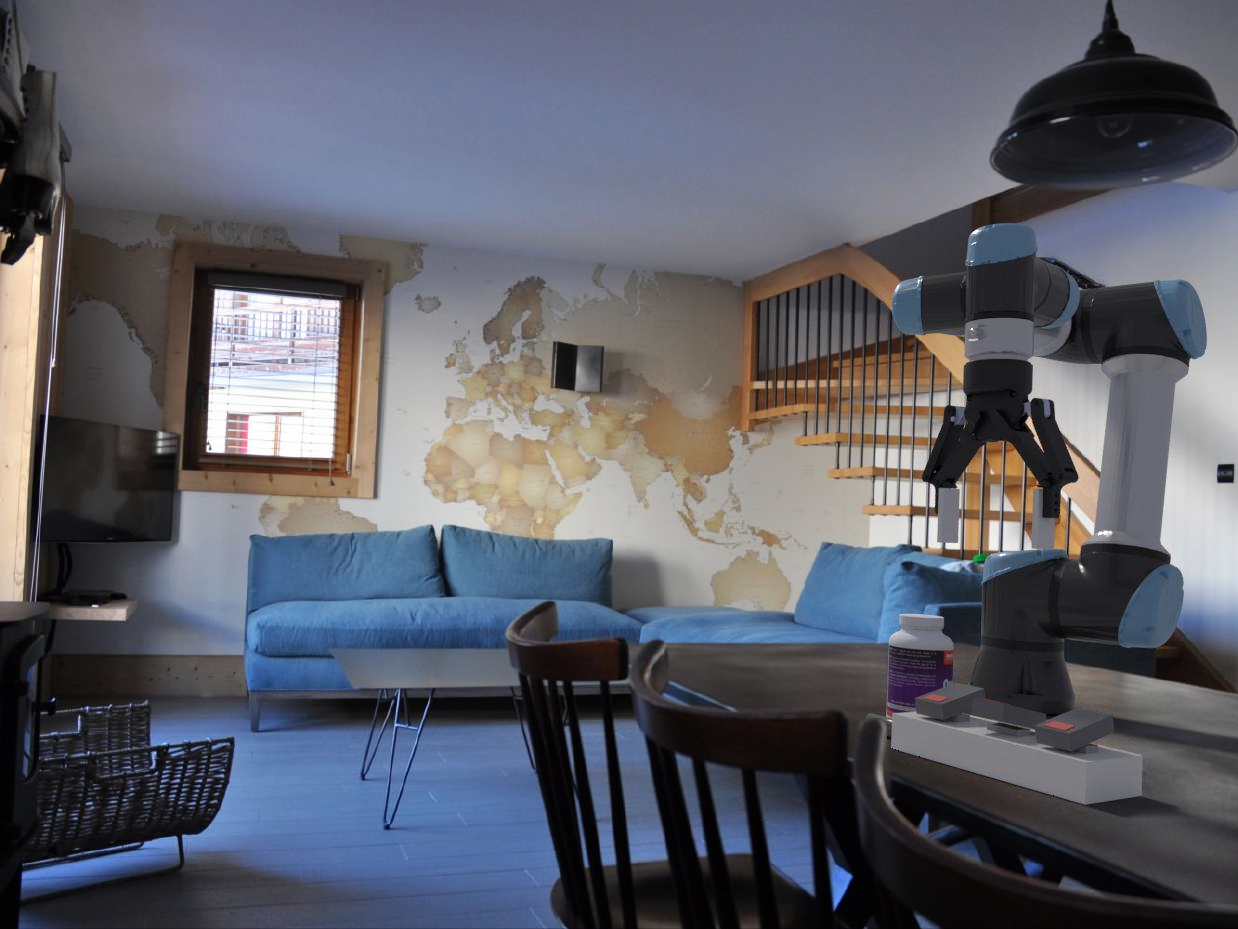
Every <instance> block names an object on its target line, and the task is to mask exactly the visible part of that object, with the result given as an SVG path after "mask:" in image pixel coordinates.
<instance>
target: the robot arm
mask: <svg viewBox="0 0 1238 929" xmlns="http://www.w3.org/2000/svg"><path fill="white" fill-rule="evenodd" d="M967 241H968V242H967V252H966V259H965V262H964V263H965V269H966V270H965V271H960V272H953V273H945V274H934V275H929V276H924V275H920V276H918V277H914V278H910V279H905V280H902V281H901V282H899V283H898V284H897V286H896V287H895V289H894V291H893V293H892V298H891V299H892V300H891V314H892V318H893V322H894V323H895V326H896V327H897V329H898V330H899V331H900V332H901V333H902V334H903V335H907V336H916V335H920V336H926V335H931V334H942V335H947V336H955V337H960V338H961V337H963V338H964V358H966V360H969V361H967V362H966V363H965V364H964V365H963V378H962V392H963V393H964V394H965V396H966V398H967V400H966V405H965V406H958V405H945V407H944V409H943V419H942V425H941V427H940V430H939V432H938V434H937V437H936V440H935V443H934V445H933V447H932V449H931V451H930V455H929V457H928V460H927V462H926V464H925V468H924V469H923V472H922V475H921V480H922V481H923V482H924V483H928V484H930V485H932V486H933V487H934V512H935V514H936V515H937V535H936V536H937V537H936V539H937V540H936V541H937V543H940V544H941V543H944V544H945V543H946V544H959V525H960V522H959V521H960V495H961V494H960V493H961V492H960V491H961V489H960V488H958V487H959V486H957V482H958V480H960V478H961V476H962V475H963V473H964V472H965V470H966V469H967V468H968V466H969V464H970V463H971V461H972V460H973V459H974V457H975V456H976V454H977V452H978V451H979V449H980V448H981V447H984V446H985V445H986V444H987V443H998V442H1005V443H1007V442H1009V443H1010V444H1011V445H1012V446H1013V448H1014V449H1015V451H1016V453H1018V454H1019V456H1020V458H1021V459H1022V460H1023V462H1024V463H1025V465H1026V467H1027V468H1028V470H1029V471H1030V472H1031V474H1032V476H1033V477H1034V478H1035V480H1036V481H1037V484H1036V487H1037V488H1035V487H1034V488H1032V510H1031V511H1032V514H1031V516H1032V517H1031V523H1032V524H1031V549H1025V550H1011V551H1009V550H1008V551H1002V552H994V553H992V554H990V555H988V556H987V557H986V558H985V561H984V564H983V571H982V572H983V573H982V580H981V582H980V583H981V584H980V585H981V617H980V618H981V623H980V624H981V625H980V627H981V628H980V629H981V630H980V632H981V634H980V649H979V654H978V656H977V659H976V661H975V664H974V666H973V669H972V673H971V676H970V680H969V681H968V683H967V685H970V686H975V687H979V688H984V691H985V699H988V700H993V701H997V702H1002V703H1006V704H1010V705H1012V706H1016V707H1020V708H1024V709H1028V710H1032V711H1036V712H1040V713H1044V714H1046V715H1061V714H1063V713H1066V712H1068V711H1071V710H1073V709H1075V708H1076V701H1077V700H1076V698H1077V697H1076V693H1075V691H1074V688H1073V684H1072V680H1071V676H1070V674H1069V670H1068V668H1067V663H1066V660H1065V656H1064V655H1065V640H1070V641H1078V642H1079V641H1080V642H1087V643H1097V644H1104V645H1112V646H1121V647H1123V648H1126V649H1131V648H1142V649H1143V648H1145V649H1155V648H1159V647H1161V646H1163V645H1164V644H1165V643H1167V641H1168V640H1169V639H1170V638H1171V636H1173V633H1174V632H1175V629H1176V627H1177V625H1178V622H1179V620H1180V617H1181V613H1182V611H1183V604H1184V603H1183V602H1184V598H1185V595H1184V594H1185V589H1183V588H1184V584H1185V583H1184V576H1183V574H1182V571H1181V570H1180V568H1179V567H1177V566H1175V565H1174V564H1171V561H1172V560H1171V559H1172V555H1171V553H1170V552H1169V551H1168V549H1166V548H1165V546H1164V545H1163V544H1162V542H1161V541H1162V540H1161V538H1162V535H1161V534H1162V527H1163V516H1164V504H1165V494H1166V485H1167V473H1168V467H1169V466H1168V465H1169V464H1168V463H1169V454H1170V445H1171V434H1172V425H1173V424H1172V423H1173V422H1172V421H1173V414H1174V404H1175V403H1174V401H1175V391H1176V384H1177V383H1178V382H1180V381H1181V380H1182V379H1184V378H1185V377H1186V376H1187V375H1188V374H1189V369H1190V361H1191V359H1192V360H1197V359H1198V358H1201V357H1203V356H1204V355H1205V353H1206V350H1207V345H1208V344H1207V343H1208V334H1207V333H1208V332H1207V324H1206V316H1205V313H1204V308H1203V305H1202V303H1201V302H1202V301H1201V299H1200V295H1199V294H1198V292H1197V290H1196V289H1195V287H1194V286H1193V285H1192V283H1190V282H1189V281H1187V280H1184V279H1169V280H1160V279H1155V280H1154V281H1147V282H1146V281H1145V282H1138V283H1130V284H1121V285H1120V284H1119V285H1113V286H1106V287H1105V286H1104V287H1095V288H1094V287H1093V288H1092V287H1091V288H1086V289H1085V288H1084V289H1080V288H1079V285H1078V283H1077V281H1076V280H1075V278H1074V277H1073V276H1072V275H1070V274H1069V273H1067V271H1066V270H1065V269H1064V268H1062V267H1060V266H1058V265H1056V264H1052V263H1050V262H1048V261H1046V260H1044V259H1041V258H1040V257H1038V256H1037V252H1038V249H1039V247H1038V246H1037V235H1036V231H1035V229H1034V228H1032V227H1030V226H1028V225H1026V224H1023V223H1012V222H1011V223H1010V222H1009V223H1008V222H1006V223H1005V222H1004V223H993V224H988V225H983V226H980V227H978V228H977V229H975V230H974V231H972V232H971V234H969V236H968V240H967ZM1033 357H1036V358H1037V357H1038V358H1041V359H1047V360H1050V361H1051V360H1052V361H1057V362H1062V363H1069V364H1078V365H1100V370H1101V372H1102V373H1103V374H1104V375H1105V376H1106V377H1107V378H1108V379H1109V380H1110V385H1109V391H1108V392H1109V394H1108V401H1107V411H1106V420H1105V429H1104V440H1103V449H1102V455H1101V456H1102V457H1101V464H1100V474H1099V475H1100V476H1099V485H1098V492H1097V493H1098V494H1097V501H1096V509H1095V510H1096V511H1095V512H1096V513H1095V519H1094V520H1095V521H1094V529H1093V530H1094V531H1093V535H1092V536H1091V537H1090V538H1088V539H1087V540H1085V541H1084V542H1082V543H1081V545H1080V551H1079V558H1078V559H1073V558H1069V555H1068V552H1067V550H1065V549H1064V548H1055V531H1056V530H1055V528H1056V527H1055V526H1056V519H1059V517H1060V516H1061V504H1062V503H1061V496H1062V494H1061V492H1062V489H1063V487H1065V486H1067V485H1069V484H1074V483H1075V484H1076V483H1077V482H1078V481H1079V478H1080V477H1079V474H1078V472H1077V468H1076V466H1075V463H1074V461H1073V459H1072V457H1071V456H1072V455H1071V454H1070V451H1069V449H1068V447H1067V444H1066V442H1065V439H1064V436H1063V434H1062V432H1061V429H1060V428H1059V425H1058V422H1057V420H1056V412H1055V402H1054V400H1052V399H1046V398H1040V397H1034V398H1032V399H1031V400H1029V395H1030V394H1031V393H1032V392H1033V380H1034V379H1033V375H1034V365H1033V364H1032V363H1031V362H1030V361H1029V360H1030V359H1032V358H1033ZM1029 418H1030V419H1031V422H1032V426H1033V429H1034V430H1035V434H1036V435H1035V434H1034V432H1033V431H1032V429H1031V428H1030V427H1029V425H1028V424H1027V420H1028V419H1029ZM965 424H966V425H965ZM1035 436H1036V437H1037V438H1038V441H1039V443H1038V442H1037V441H1036V439H1035ZM1039 444H1040V445H1039Z"/></svg>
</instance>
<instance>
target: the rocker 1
mask: <svg viewBox="0 0 1238 929" xmlns="http://www.w3.org/2000/svg"><path fill="white" fill-rule="evenodd" d="M974 697H975V698H980V699H982V698H983V699H985V691H984V688H979V687H975V686H970V685H968V684H966V683H965V684H963V683H960V682H959V683H958V682H955V683H953V684H952V685H949V686H946V687H944V688H941V689H938V690H935V691H933V692H930V693H927V694H925V695H922V696H919V697H916V698H915V704H916V713H917V714H921V715H925V716H929V717H933V718H937V719H941V720H946V719H948V718H951V717H953V716H956V715H958V714H961V713H964V714H965V713H966V712H969V711H972V705H973V699H974Z"/></svg>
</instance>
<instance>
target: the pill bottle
mask: <svg viewBox="0 0 1238 929" xmlns="http://www.w3.org/2000/svg"><path fill="white" fill-rule="evenodd" d="M898 619H899V620H898V623H899V626H900V630H899V631H895V632H894V633H893V634H891V635H890V637H889V639H888V659H887V660H888V663H887V664H888V665H887V666H888V667H887V668H888V669H887V691H886V692H887V693H886V694H887V695H886V714H885V715H886V716H885V717H887V718H891V719H892V713H904V712H916V704H915V698H916V697H919V696H922V695H925V694H927V693H930V692H933V691H935V690H938V689H941V688H944V687H946V686H949V685H952V684H954V681H953V680H954V678H953V677H954V674H953V673H954V651H955V650H954V649H955V648H954V642H953V641H952V639H951V637H949V636H948V635H946V634H944V633H943V629H944V628H945V627H944V626H945V616H944V617H943V616H941V615H934V614H921V613H900V614H899V618H898Z"/></svg>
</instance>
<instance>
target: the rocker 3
mask: <svg viewBox="0 0 1238 929" xmlns="http://www.w3.org/2000/svg"><path fill="white" fill-rule="evenodd" d="M1034 730H1035V734H1036V743H1039V744H1043V745H1047V746H1051V747H1055V748H1060V749H1064V750H1068V751H1073V750H1076V749H1078V748H1080V747H1082V746H1085V745H1087V744H1089V743H1094V742H1096V741H1098V740H1100V739H1102V738H1104V737H1107V736H1109V735H1111V734H1114V733H1115V723H1114V715H1113V713H1112V714H1111V713H1107V712H1103V711H1102V712H1101V711H1097V710H1092V709H1087V708H1082V707H1075V709H1073V710H1071V711H1068V712H1066V713H1063V714H1058V715H1056V716H1054V717H1052V718H1050V719H1046V720H1045V721H1044V722H1042V723H1039V724H1037V725H1035V729H1034Z"/></svg>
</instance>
